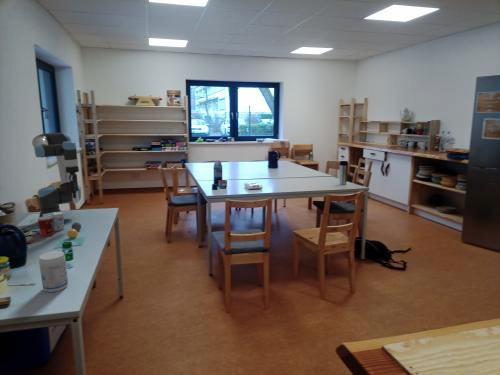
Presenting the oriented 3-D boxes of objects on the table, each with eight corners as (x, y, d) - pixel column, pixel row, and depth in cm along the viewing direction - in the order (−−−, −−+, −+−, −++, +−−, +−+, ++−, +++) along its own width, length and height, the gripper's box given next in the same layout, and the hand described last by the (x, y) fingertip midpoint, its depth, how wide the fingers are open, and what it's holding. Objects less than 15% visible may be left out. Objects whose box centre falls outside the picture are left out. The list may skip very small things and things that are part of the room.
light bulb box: (46, 233, 222) (44, 216, 220) (44, 230, 227) (41, 214, 225) (65, 229, 229) (63, 213, 227) (62, 227, 234) (60, 211, 232)
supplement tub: (39, 288, 151) (34, 255, 148) (62, 280, 158) (58, 248, 155) (48, 295, 145) (43, 261, 142) (72, 286, 152) (68, 254, 149)
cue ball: (72, 230, 227) (71, 221, 226) (82, 229, 229) (81, 220, 227) (71, 232, 222) (70, 224, 221) (80, 231, 223) (79, 223, 222)
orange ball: (68, 237, 214) (67, 228, 213) (78, 236, 215) (77, 227, 214) (67, 240, 209) (65, 231, 208) (77, 238, 210) (76, 230, 209)
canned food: (48, 237, 214) (46, 219, 212) (37, 236, 216) (34, 219, 214) (58, 233, 222) (55, 216, 219) (46, 232, 223) (44, 215, 221)
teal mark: (59, 240, 209) (59, 239, 209) (85, 237, 213) (85, 236, 213) (54, 248, 196) (54, 248, 196) (82, 245, 200) (81, 244, 200)
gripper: (67, 164, 233) (72, 199, 238) (62, 168, 217) (67, 205, 222) (80, 163, 235) (84, 198, 240) (76, 167, 219) (80, 204, 224)
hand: (76, 201), depth 231 cm, fingers open, 4 cm apart
